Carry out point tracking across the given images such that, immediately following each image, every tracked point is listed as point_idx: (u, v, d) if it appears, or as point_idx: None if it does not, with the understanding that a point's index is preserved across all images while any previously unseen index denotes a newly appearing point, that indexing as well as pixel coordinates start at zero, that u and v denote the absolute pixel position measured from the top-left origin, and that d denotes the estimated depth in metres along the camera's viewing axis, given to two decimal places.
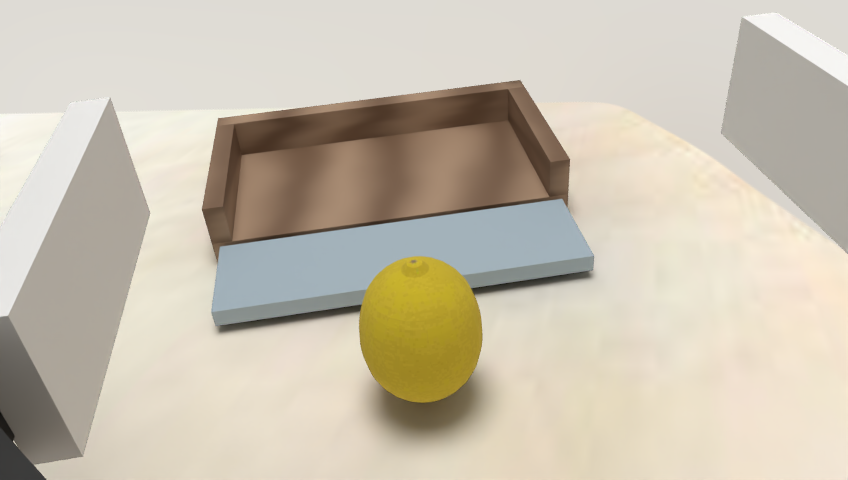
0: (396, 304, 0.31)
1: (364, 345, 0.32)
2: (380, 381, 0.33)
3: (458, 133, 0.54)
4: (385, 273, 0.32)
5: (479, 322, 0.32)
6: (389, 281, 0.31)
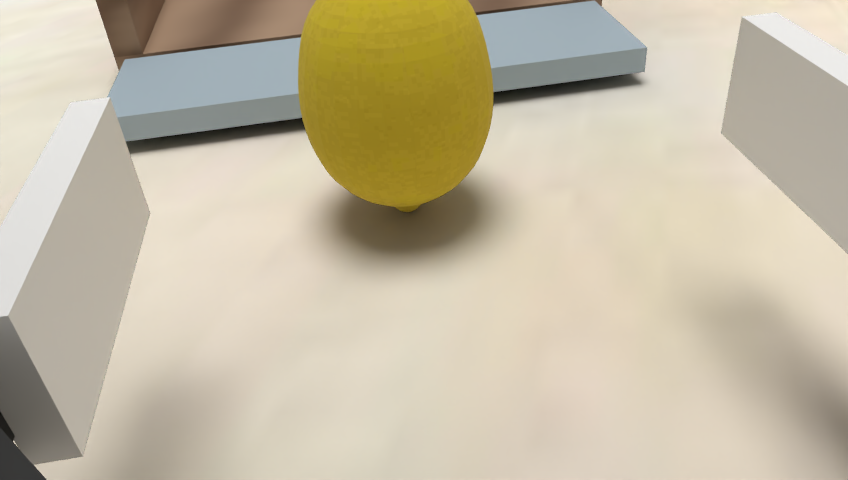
0: (351, 9, 0.18)
1: (304, 100, 0.20)
2: (331, 163, 0.20)
3: None
4: None
5: (489, 65, 0.20)
6: None
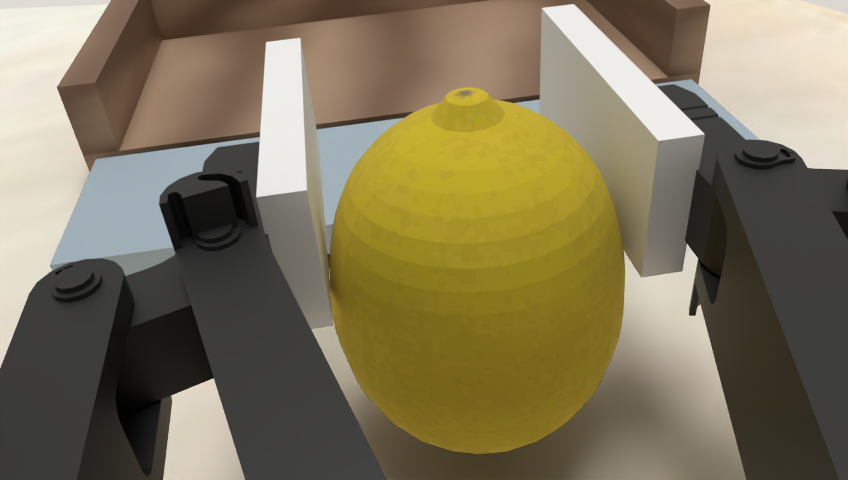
0: (422, 200, 0.11)
1: (341, 317, 0.13)
2: (381, 405, 0.13)
3: (499, 6, 0.34)
4: (391, 132, 0.13)
5: (623, 258, 0.13)
6: (402, 147, 0.12)
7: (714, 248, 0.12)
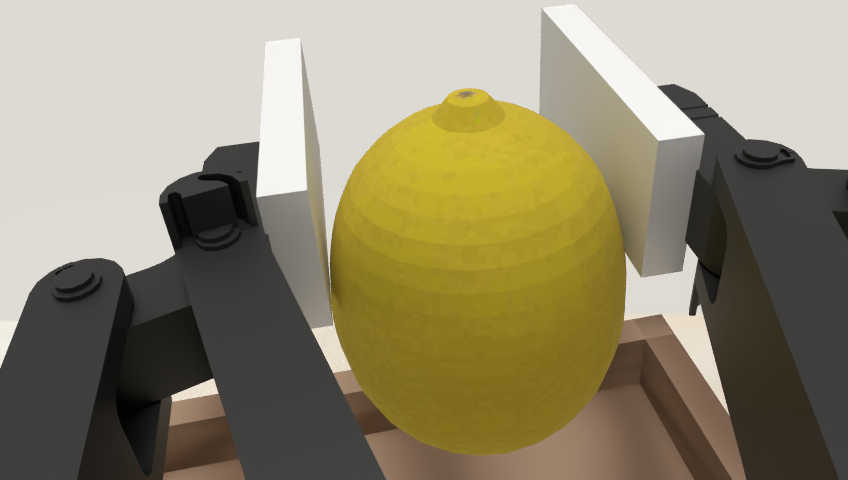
0: (423, 201, 0.11)
1: (341, 318, 0.13)
2: (382, 407, 0.13)
3: None
4: (392, 133, 0.13)
5: (624, 259, 0.13)
6: (403, 148, 0.12)
7: (714, 248, 0.12)
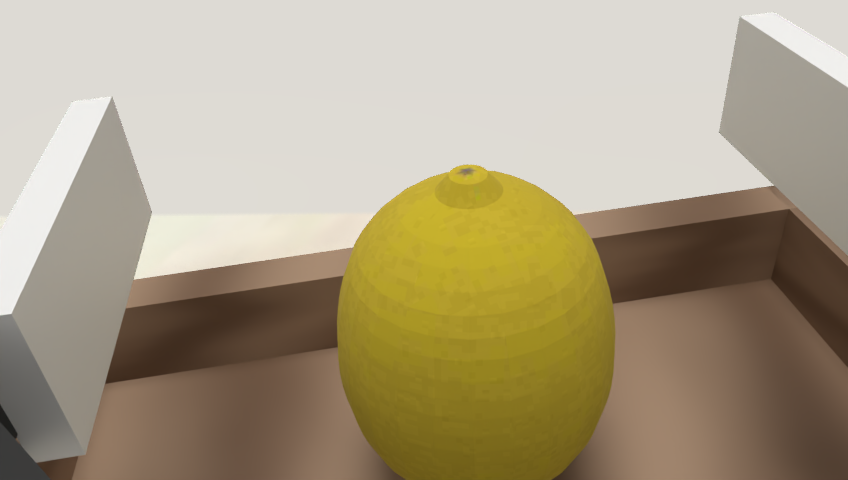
0: (426, 273, 0.12)
1: (348, 375, 0.14)
2: (385, 458, 0.14)
3: (657, 323, 0.21)
4: (397, 204, 0.13)
5: (614, 320, 0.14)
6: (408, 220, 0.13)
7: None
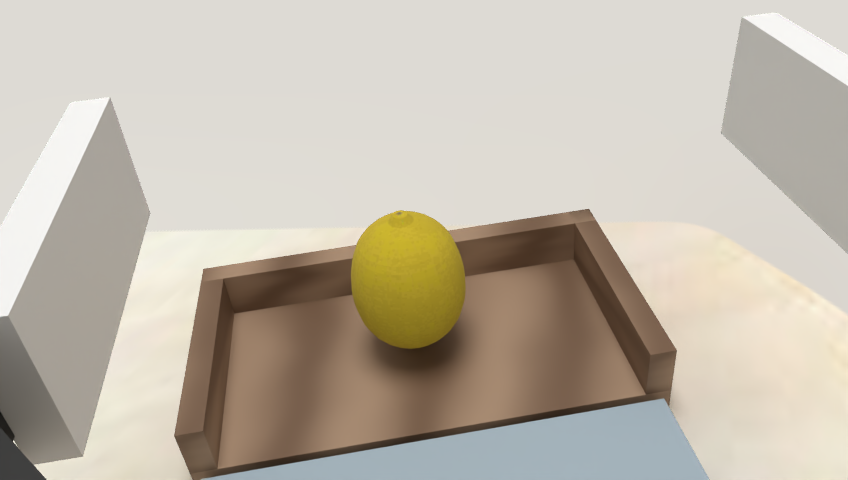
0: (383, 251, 0.33)
1: (355, 293, 0.35)
2: (371, 327, 0.35)
3: (511, 281, 0.42)
4: (373, 226, 0.34)
5: (462, 271, 0.35)
6: (377, 232, 0.34)
7: None
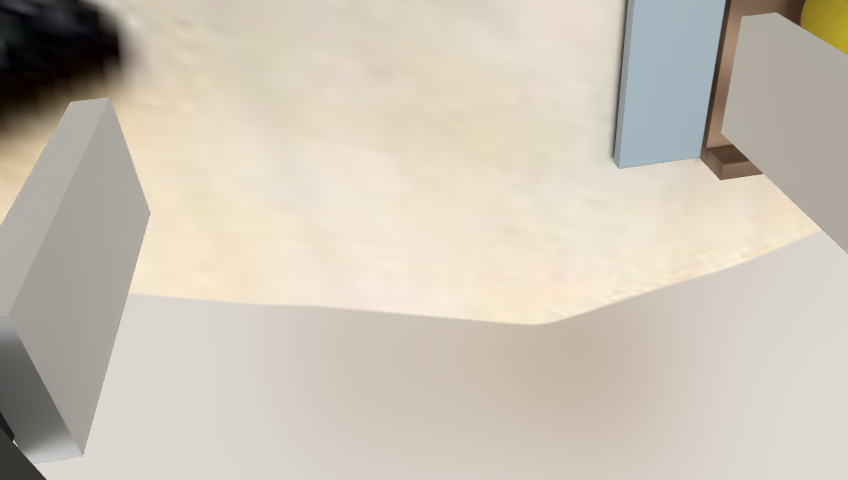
0: None
1: None
2: None
3: None
4: None
5: None
6: None
7: None
